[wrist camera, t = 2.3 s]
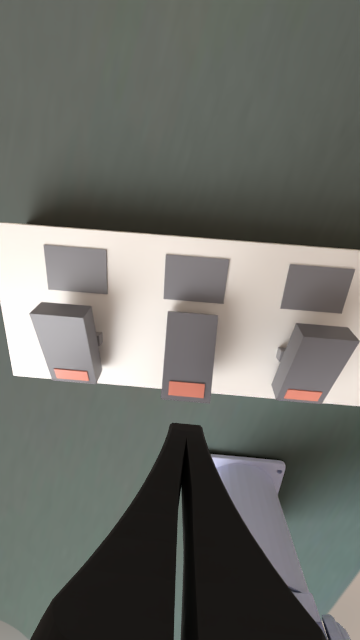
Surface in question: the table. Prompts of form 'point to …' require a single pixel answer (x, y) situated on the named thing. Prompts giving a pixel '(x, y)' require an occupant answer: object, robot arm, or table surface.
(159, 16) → the table surface
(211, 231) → the table surface
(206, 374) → the block
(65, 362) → the block
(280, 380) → the rocker
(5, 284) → the power strip
